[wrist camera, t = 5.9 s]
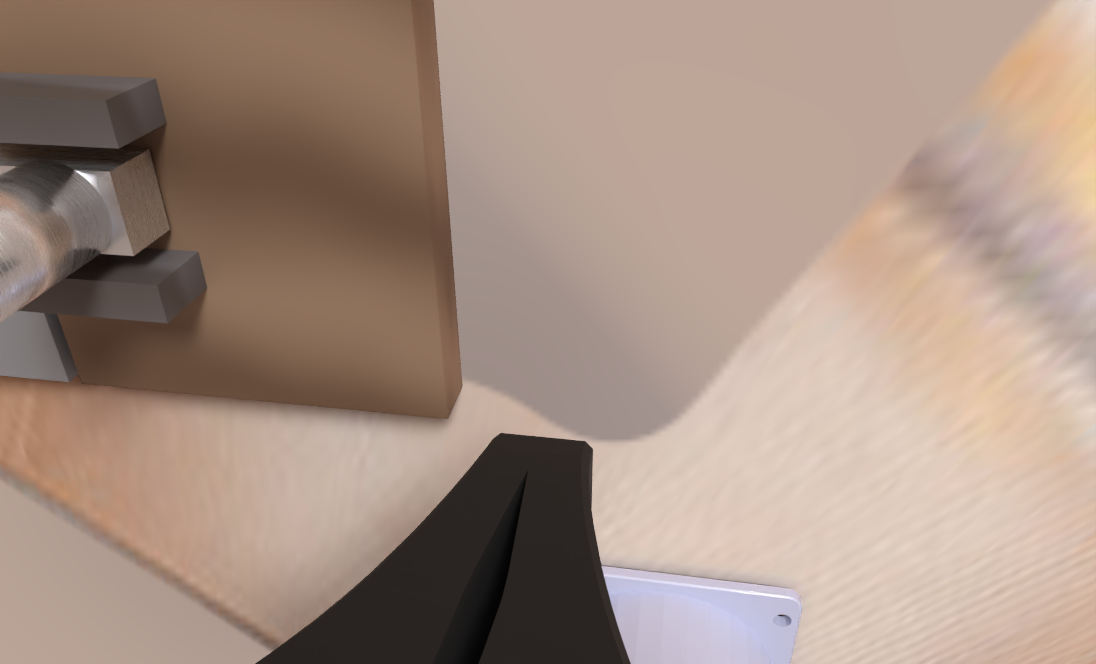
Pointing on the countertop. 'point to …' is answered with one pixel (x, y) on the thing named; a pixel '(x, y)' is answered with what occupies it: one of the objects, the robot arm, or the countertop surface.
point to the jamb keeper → (35, 348)
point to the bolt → (70, 213)
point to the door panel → (255, 195)
